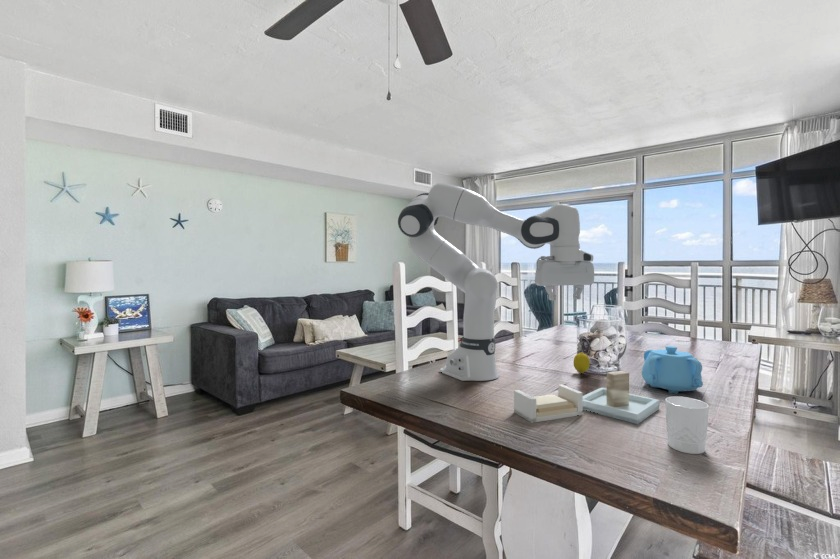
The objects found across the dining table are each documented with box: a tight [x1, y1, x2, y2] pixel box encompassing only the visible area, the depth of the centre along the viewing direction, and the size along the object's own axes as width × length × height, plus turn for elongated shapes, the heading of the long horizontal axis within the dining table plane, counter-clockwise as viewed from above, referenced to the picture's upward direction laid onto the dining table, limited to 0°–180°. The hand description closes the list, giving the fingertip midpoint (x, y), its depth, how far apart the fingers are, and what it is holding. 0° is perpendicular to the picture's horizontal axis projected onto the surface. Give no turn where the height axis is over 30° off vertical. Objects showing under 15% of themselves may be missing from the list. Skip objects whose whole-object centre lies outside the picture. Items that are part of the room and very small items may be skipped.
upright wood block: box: [606, 370, 630, 407], centre depth 111 cm, size 2×6×9 cm, turn 110°
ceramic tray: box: [582, 386, 660, 425], centre depth 112 cm, size 16×16×2 cm
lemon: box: [573, 351, 591, 374], centre depth 148 cm, size 6×6×8 cm
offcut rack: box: [513, 384, 584, 424], centre depth 108 cm, size 8×16×6 cm, turn 109°
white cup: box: [664, 395, 710, 455], centre depth 87 cm, size 8×8×10 cm
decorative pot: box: [641, 345, 704, 394], centre depth 130 cm, size 16×16×14 cm
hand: (564, 299), depth 127 cm, fingers open, 8 cm apart
